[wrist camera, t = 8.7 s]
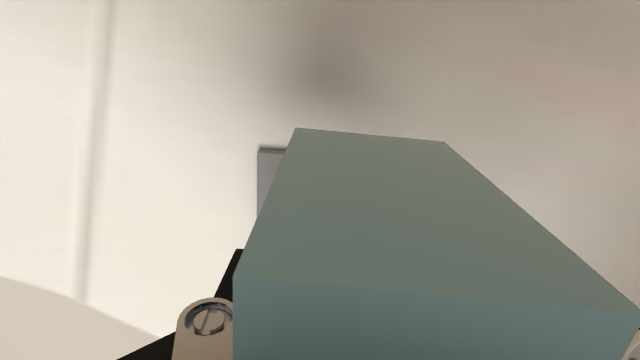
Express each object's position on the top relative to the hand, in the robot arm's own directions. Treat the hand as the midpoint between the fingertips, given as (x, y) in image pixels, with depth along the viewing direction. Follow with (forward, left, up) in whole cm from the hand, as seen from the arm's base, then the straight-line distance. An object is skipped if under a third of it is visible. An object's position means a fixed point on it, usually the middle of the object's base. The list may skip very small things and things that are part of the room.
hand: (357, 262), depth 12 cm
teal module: (0, 0, -2) cm, 2 cm away
